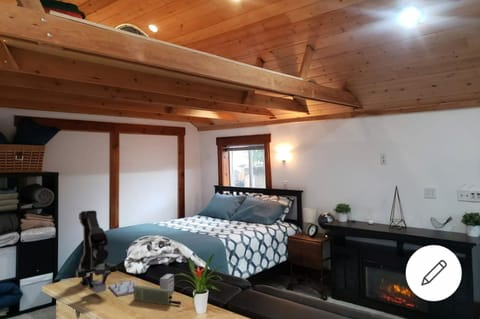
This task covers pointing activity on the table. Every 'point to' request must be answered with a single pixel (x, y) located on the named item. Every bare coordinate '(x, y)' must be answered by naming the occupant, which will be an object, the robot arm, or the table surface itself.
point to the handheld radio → (153, 295)
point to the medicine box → (167, 282)
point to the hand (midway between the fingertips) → (96, 287)
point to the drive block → (97, 286)
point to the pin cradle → (123, 287)
